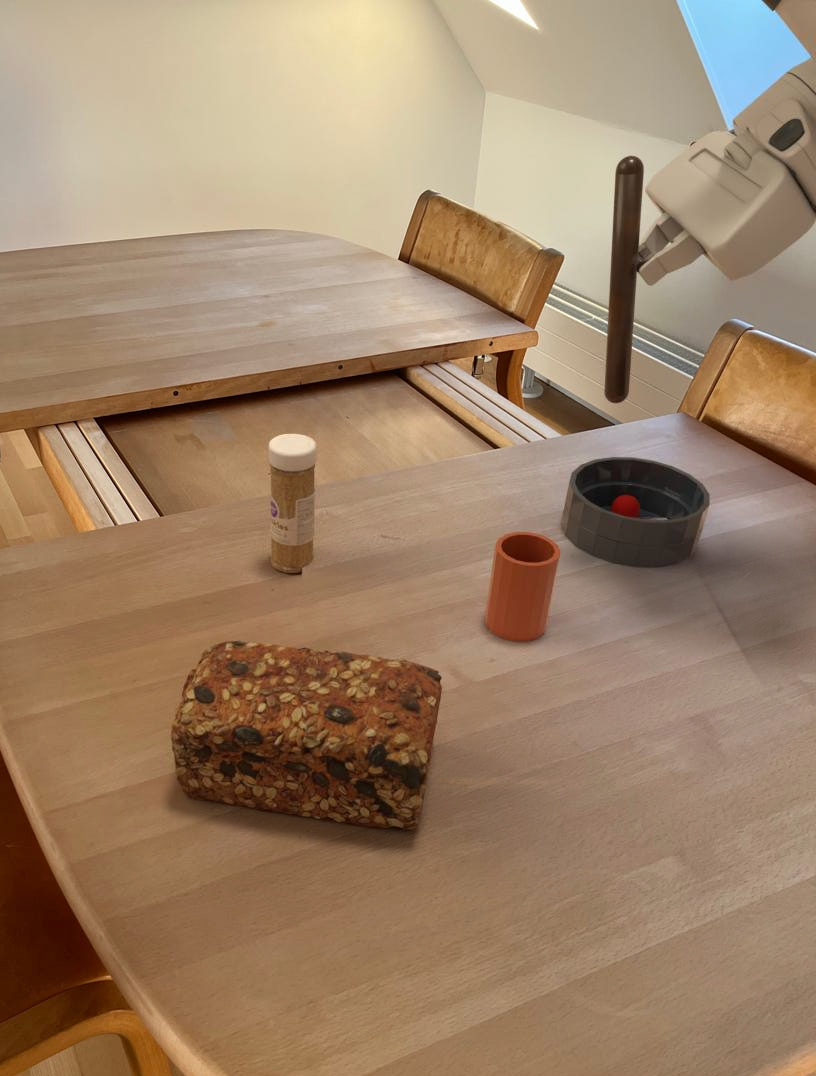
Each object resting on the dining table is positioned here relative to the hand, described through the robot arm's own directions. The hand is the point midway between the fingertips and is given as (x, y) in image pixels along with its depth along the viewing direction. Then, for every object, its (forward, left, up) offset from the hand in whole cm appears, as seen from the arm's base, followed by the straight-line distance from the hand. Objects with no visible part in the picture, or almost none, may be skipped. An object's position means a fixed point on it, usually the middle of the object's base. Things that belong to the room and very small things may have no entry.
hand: (636, 271), depth 83 cm
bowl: (-6, -5, -29) cm, 30 cm away
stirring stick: (-1, 0, -12) cm, 12 cm away
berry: (-6, -7, -27) cm, 29 cm away
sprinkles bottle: (+30, +1, -29) cm, 42 cm away
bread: (+28, +31, -29) cm, 51 cm away
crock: (+9, +12, -29) cm, 33 cm away
